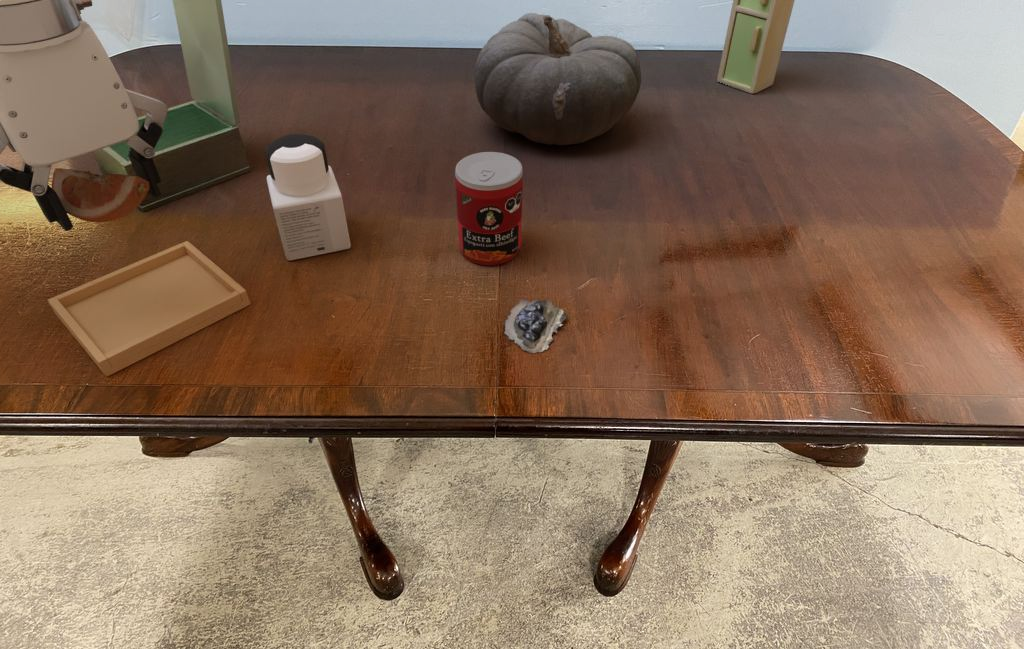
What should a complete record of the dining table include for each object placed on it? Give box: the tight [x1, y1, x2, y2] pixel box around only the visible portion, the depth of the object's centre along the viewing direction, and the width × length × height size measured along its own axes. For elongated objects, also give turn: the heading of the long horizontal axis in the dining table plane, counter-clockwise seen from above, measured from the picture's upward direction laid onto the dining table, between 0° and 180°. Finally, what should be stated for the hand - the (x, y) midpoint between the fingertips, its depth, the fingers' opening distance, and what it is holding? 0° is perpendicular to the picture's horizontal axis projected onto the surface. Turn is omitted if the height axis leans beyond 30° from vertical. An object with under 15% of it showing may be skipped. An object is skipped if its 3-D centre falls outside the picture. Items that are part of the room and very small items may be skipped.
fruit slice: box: [50, 167, 149, 223], centre depth 64 cm, size 8×7×5 cm
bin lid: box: [172, 0, 241, 125], centre depth 90 cm, size 16×13×1 cm
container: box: [264, 133, 352, 261], centre depth 79 cm, size 8×8×13 cm
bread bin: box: [92, 99, 251, 213], centre depth 93 cm, size 16×13×7 cm
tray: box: [47, 240, 251, 377], centre depth 72 cm, size 16×14×2 cm
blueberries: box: [503, 298, 568, 354], centre depth 71 cm, size 7×8×2 cm
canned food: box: [454, 151, 524, 266], centre depth 79 cm, size 8×8×11 cm
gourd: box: [474, 12, 642, 146], centre depth 103 cm, size 25×25×17 cm
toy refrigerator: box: [716, 0, 796, 95], centre depth 115 cm, size 8×7×21 cm
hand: (109, 207), depth 65 cm, fingers closed on fruit slice, 7 cm apart
